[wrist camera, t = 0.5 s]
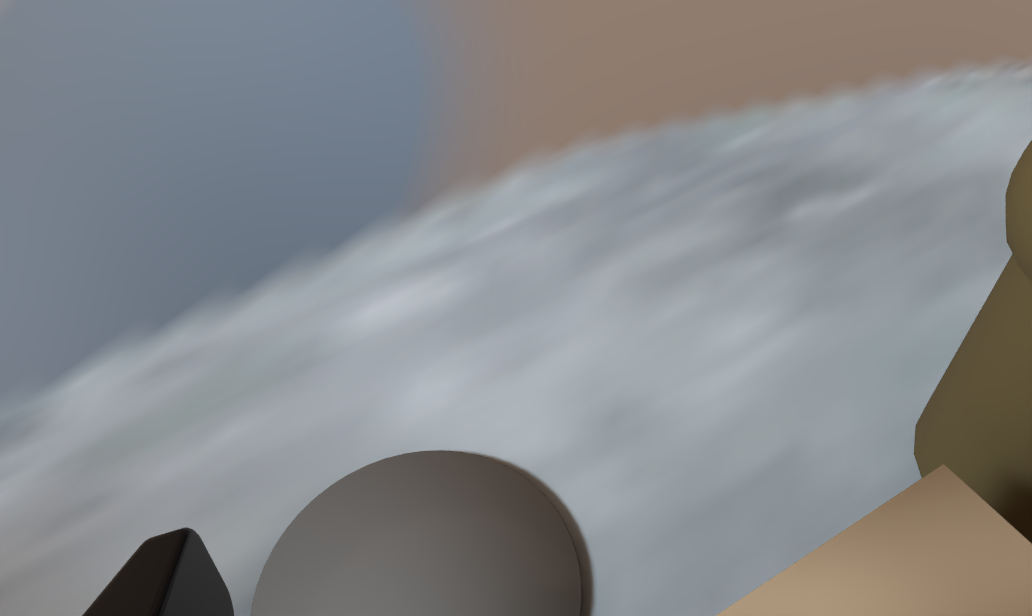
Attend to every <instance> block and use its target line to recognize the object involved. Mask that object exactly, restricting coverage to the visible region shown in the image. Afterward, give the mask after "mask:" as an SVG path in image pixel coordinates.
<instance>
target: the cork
mask: <svg viewBox="0 0 1032 616" xmlns="http://www.w3.org/2000/svg"><path fill="white" fill-rule="evenodd" d="M1006 235H1007V243H1008V245H1009V247H1010V249H1011V251H1012V253H1013V254H1012V256H1011V258H1010V259H1009V261H1008V263H1007V265H1006V266H1005V268H1004V270H1003V272H1002V274H1001V275H1000V277H999V279H998V281H997V282H996V284H995V286H994V288H993V289H992V291H991V293H990V295H989V296H988V298H987V300H986V302H985V303H984V305H983V307H982V309H981V310H980V312H979V314H978V316H977V317H976V319H975V321H974V323H973V324H972V326H971V328H970V330H969V331H968V333H967V335H966V337H965V338H964V340H963V342H962V344H961V345H960V347H959V349H958V351H957V352H956V354H955V356H954V358H953V359H952V361H951V363H950V365H949V366H948V368H947V370H946V372H945V373H944V375H943V377H942V379H941V380H940V382H939V384H938V386H937V387H936V389H935V391H934V393H933V394H932V396H931V398H930V400H929V401H928V403H927V405H926V407H925V409H924V411H923V413H922V415H921V417H920V418H919V420H918V422H917V424H916V430H915V445H914V455H915V458H916V461H917V464H918V467H919V470H920V474H921V477H922V478H923V477H925V476H926V475H928V474H929V473H931V472H932V471H934V470H935V469H937V468H938V467H940V466H941V465H943V464H944V465H945V466H946V467H947V468H949V469H950V470H951V471H952V472H953V473H954V474H955V475H956V476H957V477H959V478H960V479H961V480H962V481H963V482H964V483H965V484H966V485H967V486H968V487H970V488H971V489H972V490H973V491H974V492H975V493H976V494H977V495H978V496H980V497H981V498H982V499H983V500H984V501H985V502H986V503H987V504H988V505H989V506H991V507H992V508H993V509H994V510H995V511H996V512H997V513H998V514H999V515H1001V516H1002V517H1003V518H1004V519H1005V520H1006V521H1007V522H1008V523H1009V524H1010V525H1012V526H1013V527H1014V528H1015V529H1016V530H1017V531H1018V532H1019V533H1020V534H1022V535H1023V536H1024V537H1025V538H1026V539H1027V540H1028V541H1029V542H1030V543H1032V141H1031V142H1030V143H1029V145H1028V146H1027V148H1026V149H1025V151H1024V152H1023V154H1022V156H1021V158H1020V159H1019V161H1018V163H1017V165H1016V167H1015V168H1014V170H1013V172H1012V174H1011V178H1010V181H1009V185H1008V188H1007V192H1006Z"/></svg>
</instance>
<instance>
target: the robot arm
mask: <svg viewBox="0 0 1032 616" xmlns="http://www.w3.org/2000/svg"><path fill="white" fill-rule="evenodd" d="M82 616H234V611H233V605H232V601H231V597H230V594H229V592H228V589H227V587H226V585H225V583H224V581H223V579H222V577H221V575H220V574H219V572H218V570H217V568H216V566H215V564H214V562H213V560H212V558H211V557H210V555H209V553H208V551H207V549H206V547H205V545H204V543H203V541H202V540H201V538H200V536H199V535H198V534H197V533H196V532H195V531H194V530H193V529H190V528H187V527H186V528H181V529H178V530H175V531H171V532H168V533H165V534H161V535H158V536H155V537H152V538H149V539H147V540H146V541H145V542H144V543H143V544H142V545H141V546H140V547H139V548H138V549H137V551H136V552H135V553H134V554H133V555H132V557H131V558H130V559H129V560H128V561H127V563H126V564H125V565H124V566H123V567H122V569H121V570H120V571H119V572H118V573H117V575H116V576H115V577H114V578H113V579H112V581H111V582H110V583H109V584H108V585H107V587H106V588H105V589H104V590H103V591H102V593H101V594H100V595H99V596H98V597H97V599H96V600H95V601H94V602H93V603H92V605H91V606H90V607H89V608H88V609H87V611H86V612H85V613H84V614H83V615H82Z"/></svg>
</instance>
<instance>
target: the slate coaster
mask: <svg viewBox="0 0 1032 616" xmlns="http://www.w3.org/2000/svg"><path fill="white" fill-rule="evenodd" d="M581 604H582V585H581V576H580V568H579V563H578V559H577V555H576V552H575V548H574V544H573V541H572V539H571V536H570V534H569V532H568V529H567V527H566V525H565V523H564V521H563V520H562V518H561V516H560V515H559V513H558V511H557V510H556V508H555V507H554V506H553V505H552V503H551V502H550V501H549V500H548V498H547V497H546V496H545V495H544V494H543V493H542V492H541V491H540V490H539V489H538V488H537V487H536V486H535V485H534V484H532V483H531V482H530V481H529V480H527V479H526V478H525V477H523V476H522V475H520V474H519V473H517V472H516V471H514V470H512V469H510V468H508V467H506V466H504V465H502V464H500V463H498V462H496V461H493V460H490V459H487V458H484V457H481V456H477V455H473V454H468V453H463V452H454V451H421V452H413V453H406V454H402V455H398V456H394V457H390V458H386V459H383V460H380V461H378V462H375V463H372V464H370V465H367V466H365V467H363V468H361V469H359V470H357V471H355V472H353V473H351V474H349V475H347V476H345V477H344V478H342V479H341V480H339V481H337V482H336V483H334V484H333V485H331V486H330V487H329V488H327V489H326V490H325V491H323V492H322V493H321V494H320V495H318V496H317V497H316V498H315V499H314V500H313V501H312V502H310V503H309V504H308V505H307V506H306V507H305V508H304V509H303V510H302V511H301V512H300V513H299V514H298V516H297V517H296V518H295V519H294V520H293V522H292V523H291V524H290V525H289V526H288V527H287V529H286V530H285V532H284V533H283V535H282V536H281V538H280V539H279V541H278V542H277V544H276V545H275V547H274V548H273V550H272V552H271V554H270V556H269V558H268V560H267V562H266V564H265V566H264V569H263V571H262V574H261V576H260V579H259V581H258V584H257V588H256V592H255V596H254V600H253V603H252V610H251V616H580V615H581Z"/></svg>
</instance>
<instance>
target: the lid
mask: <svg viewBox="0 0 1032 616" xmlns="http://www.w3.org/2000/svg"><path fill="white" fill-rule="evenodd" d="M716 616H1032V543H1030V542H1029V541H1028V540H1027V539H1026V538H1025V537H1024V536H1023V535H1022V534H1020V533H1019V532H1018V531H1017V530H1016V529H1015V528H1014V527H1013V526H1012V525H1010V524H1009V523H1008V522H1007V521H1006V520H1005V519H1004V518H1003V517H1002V516H1001V515H999V514H998V513H997V512H996V511H995V510H994V509H993V508H992V507H991V506H989V505H988V504H987V503H986V502H985V501H984V500H983V499H982V498H981V497H980V496H978V495H977V494H976V493H975V492H974V491H973V490H972V489H971V488H970V487H968V486H967V485H966V484H965V483H964V482H963V481H962V480H961V479H960V478H959V477H957V476H956V475H955V474H954V473H953V472H952V471H951V470H950V469H949V468H947V467H946V466H945V465H944V464H943V465H941V466H940V467H938V468H937V469H935V470H934V471H932V472H931V473H929V474H928V475H926V476H925V477H923V478H922V479H920V480H919V481H917V482H916V483H914V484H913V485H911V486H910V487H908V488H907V489H905V490H904V491H902V492H901V493H899V494H898V495H896V496H895V497H893V498H892V499H890V500H889V501H887V502H886V503H884V504H883V505H881V506H880V507H878V508H877V509H875V510H874V511H872V512H871V513H869V514H868V515H866V516H865V517H863V518H862V519H860V520H859V521H857V522H856V523H854V524H853V525H851V526H850V527H848V528H847V529H845V530H844V531H842V532H841V533H839V534H838V535H836V536H835V537H833V538H832V539H830V540H829V541H827V542H826V543H824V544H823V545H821V546H820V547H818V548H817V549H815V550H814V551H812V552H811V553H809V554H808V555H806V556H805V557H803V558H802V559H800V560H799V561H797V562H796V563H794V564H793V565H791V566H790V567H788V568H787V569H785V570H784V571H782V572H781V573H779V574H778V575H776V576H775V577H773V578H772V579H770V580H769V581H767V582H766V583H764V584H763V585H761V586H760V587H758V588H757V589H755V590H754V591H752V592H751V593H749V594H748V595H746V596H745V597H743V598H742V599H740V600H739V601H737V602H736V603H734V604H733V605H731V606H730V607H728V608H727V609H725V610H724V611H722V612H721V613H719V614H718V615H716Z"/></svg>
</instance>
